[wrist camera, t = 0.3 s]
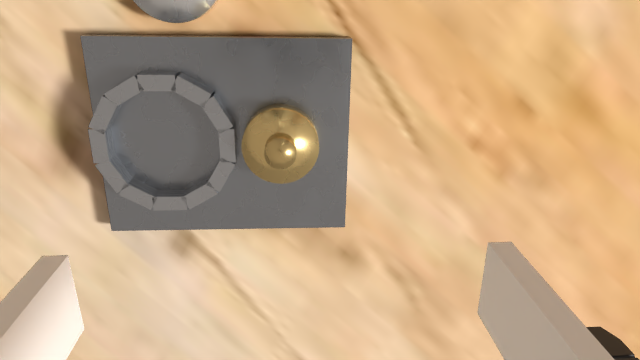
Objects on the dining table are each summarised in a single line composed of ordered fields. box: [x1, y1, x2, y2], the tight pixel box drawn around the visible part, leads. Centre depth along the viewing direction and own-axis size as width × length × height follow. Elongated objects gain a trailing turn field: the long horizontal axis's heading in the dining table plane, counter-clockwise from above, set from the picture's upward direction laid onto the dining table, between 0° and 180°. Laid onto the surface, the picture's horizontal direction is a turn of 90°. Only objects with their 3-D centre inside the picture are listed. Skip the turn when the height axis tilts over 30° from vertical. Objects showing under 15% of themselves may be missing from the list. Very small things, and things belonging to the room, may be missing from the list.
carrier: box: [81, 34, 352, 231], centre depth 38 cm, size 16×20×5 cm
